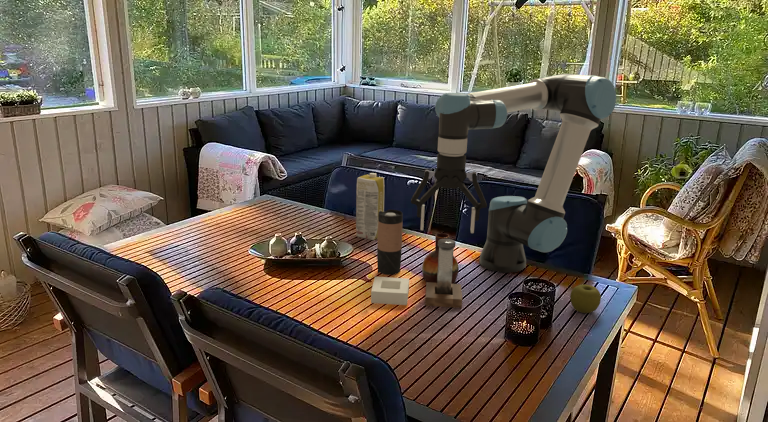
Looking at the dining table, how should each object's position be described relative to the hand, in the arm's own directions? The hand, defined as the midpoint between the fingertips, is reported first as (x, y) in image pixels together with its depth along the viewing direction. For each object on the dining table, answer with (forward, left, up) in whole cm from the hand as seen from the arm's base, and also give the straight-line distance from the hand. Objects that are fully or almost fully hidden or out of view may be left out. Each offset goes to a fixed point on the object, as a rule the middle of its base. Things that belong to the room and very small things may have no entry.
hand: (446, 230), depth 153 cm
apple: (-39, 0, -22) cm, 45 cm away
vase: (+1, -13, -22) cm, 25 cm away
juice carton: (+27, -51, -22) cm, 62 cm away
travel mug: (+17, -18, -22) cm, 33 cm away
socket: (+15, 0, -22) cm, 26 cm away
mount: (0, 0, -22) cm, 22 cm away
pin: (0, 0, -20) cm, 21 cm away
